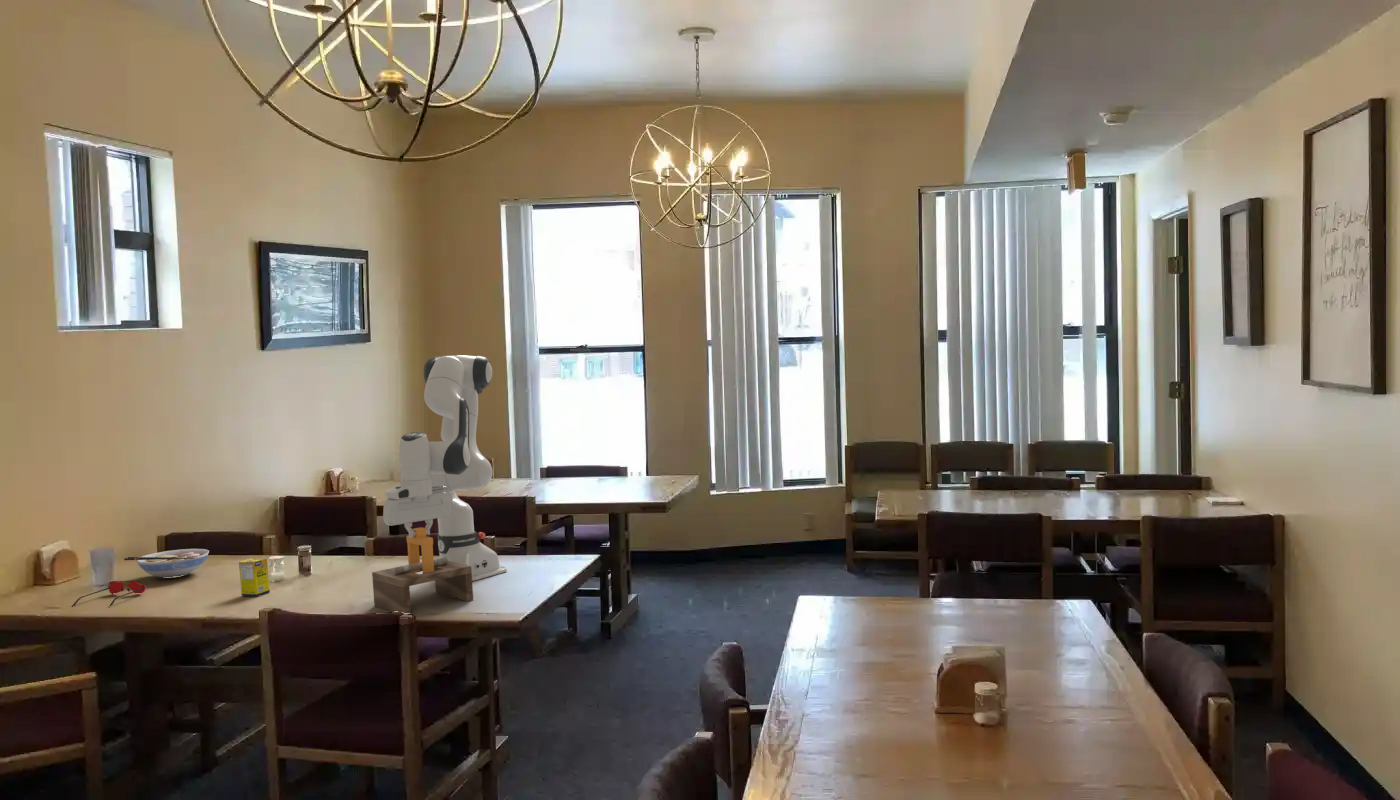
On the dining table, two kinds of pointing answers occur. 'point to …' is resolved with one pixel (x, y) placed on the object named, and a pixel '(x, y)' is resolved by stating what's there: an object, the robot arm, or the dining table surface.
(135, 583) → the glasses
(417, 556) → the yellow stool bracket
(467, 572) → the shelf
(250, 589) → the supplement box
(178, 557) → the ramen bowl
